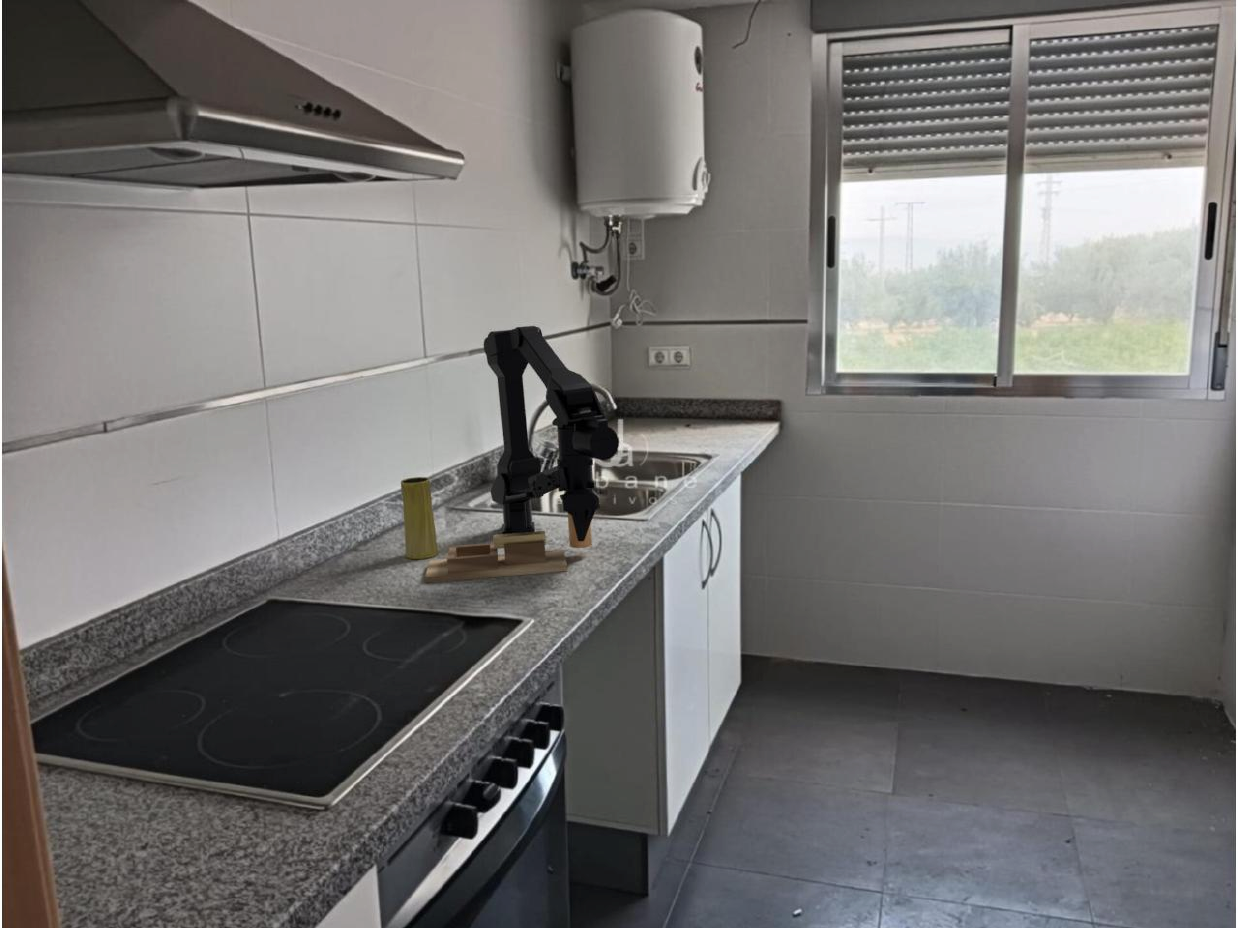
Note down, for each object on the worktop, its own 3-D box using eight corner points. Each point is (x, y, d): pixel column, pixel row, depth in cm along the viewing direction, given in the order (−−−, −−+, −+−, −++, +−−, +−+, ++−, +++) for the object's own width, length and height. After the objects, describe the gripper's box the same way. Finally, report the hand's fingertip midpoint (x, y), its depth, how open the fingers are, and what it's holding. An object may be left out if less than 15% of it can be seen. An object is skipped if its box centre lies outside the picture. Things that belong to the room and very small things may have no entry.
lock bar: (494, 545, 174) (493, 534, 173) (545, 541, 175) (544, 530, 174) (494, 548, 172) (493, 537, 171) (546, 544, 173) (545, 533, 172)
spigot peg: (568, 542, 180) (566, 505, 178) (590, 540, 180) (588, 503, 179) (570, 548, 176) (567, 510, 174) (592, 546, 176) (590, 508, 175)
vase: (399, 555, 185) (392, 480, 182) (428, 548, 189) (421, 475, 186) (415, 561, 180) (408, 485, 177) (445, 554, 184) (438, 479, 181)
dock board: (430, 565, 177) (427, 541, 176) (564, 554, 180) (562, 530, 179) (425, 582, 167) (423, 557, 167) (567, 570, 170) (565, 545, 169)
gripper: (528, 446, 183) (533, 528, 186) (530, 466, 165) (536, 556, 168) (588, 442, 184) (592, 523, 187) (597, 461, 166) (602, 550, 169)
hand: (580, 537), depth 178 cm, fingers closed on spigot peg, 4 cm apart
